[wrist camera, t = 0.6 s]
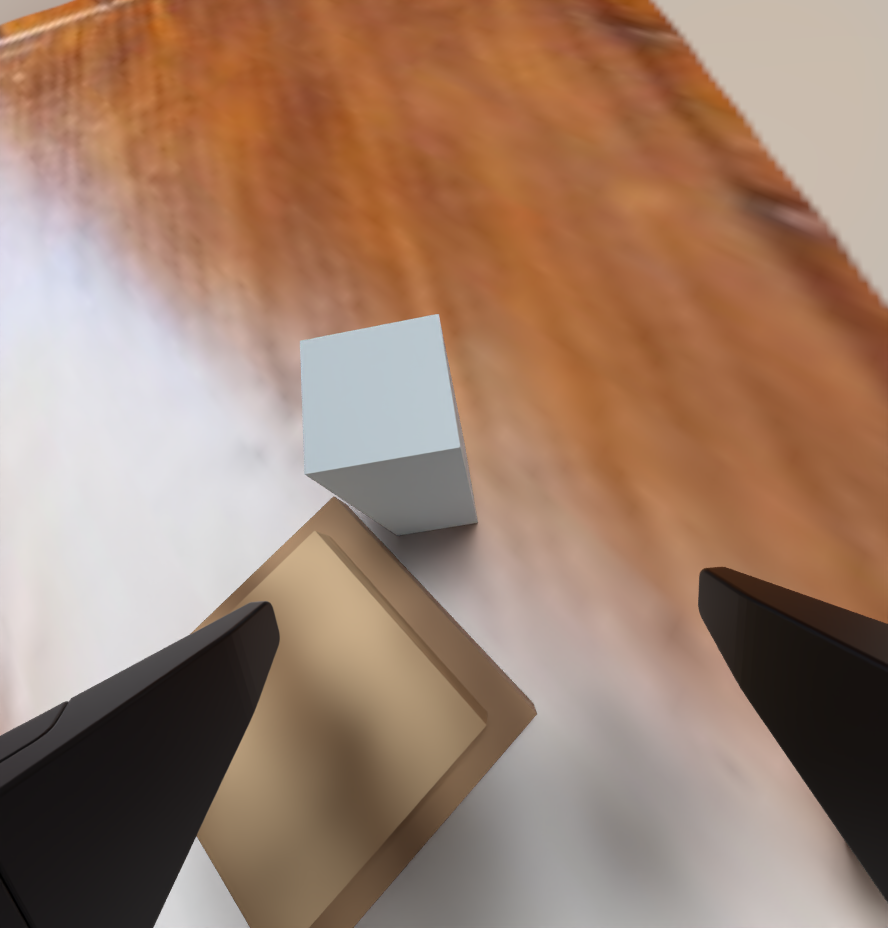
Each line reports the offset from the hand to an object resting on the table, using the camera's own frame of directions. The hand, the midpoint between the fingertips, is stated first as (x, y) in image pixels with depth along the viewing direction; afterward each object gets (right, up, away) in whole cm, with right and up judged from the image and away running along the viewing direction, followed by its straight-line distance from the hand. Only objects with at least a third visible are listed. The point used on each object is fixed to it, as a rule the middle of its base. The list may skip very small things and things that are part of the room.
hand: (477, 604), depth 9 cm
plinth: (-6, -9, +12) cm, 16 cm away
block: (-1, +1, +15) cm, 15 cm away
